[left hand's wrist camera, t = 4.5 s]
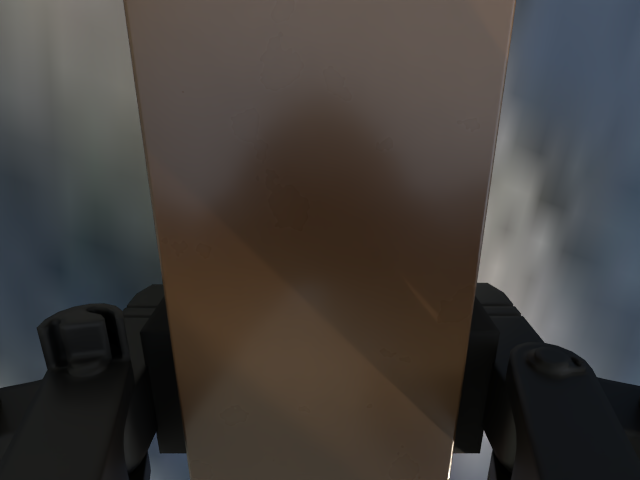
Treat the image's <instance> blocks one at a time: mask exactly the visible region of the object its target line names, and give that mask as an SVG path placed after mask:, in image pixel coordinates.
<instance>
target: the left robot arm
mask: <svg viewBox="0 0 640 480" xmlns="http://www.w3.org/2000/svg"><path fill="white" fill-rule="evenodd" d="M37 331H38V335H39V339H40V343H41V346H42V350H43V354H44V358H45V362H46V365H47V369H48V370H47V372H46V374H45V376H44V378H43V379H42V380H38V381H34V382H29V383H24V384H19V385H14V386H9V387H4V388H0V480H150V473H151V469H150V461H149V456H148V448H149V446H150V444H151V442H152V439H153V437H154V435H155V433H157V439H158V445H159V451H160V453H187V452H186V445H185V438H184V431H183V424H182V416H181V409H180V402H179V395H178V388H177V381H176V374H175V366H174V359H173V352H172V345H171V338H170V331H169V324H168V316H167V309H166V302H165V295H164V288H163V284H152V285H151V286H149V287H147V288H146V289H144V290H142V291H141V292H139V293H137V294H136V295H135V296H134V298H133V299H132V300H131V301H130V303H129V304H128V305H127V308H125V309H124V310H123V311H122V310H120V309H119V308H118V307H116V306H114V305H109V304H86V305H81V306H75V307H72V308H69V309H66V310H63V311H60V312H58V313H56V314H54V315H52V316H50V317H49V318H47V319H45V320H44V321H43V322H42V323H41V324H40V325H39V326H38V327H37ZM483 431H485V433H486V436H487V438H488V440H489V442H490V444H491V447H492V449H493V450H492V456H491V461H490V467H489V472H488V478H487V480H640V386H637V385H632V384H627V383H621V382H616V381H611V380H606V379H602V378H598V377H596V375H595V373H594V371H593V369H592V368H591V367H590V366H589V364H588V363H587V362H586V361H585V360H584V359H582V358H581V357H579V356H578V355H576V354H575V353H573V352H572V351H569V350H567V349H564V348H562V347H559V346H556V345H552V344H547V343H544V341H543V340H542V339H541V338H540V337H539V335H538V334H537V333H536V332H535V330H534V329H533V328H532V327H531V326H530V324H529V323H528V322H527V321H526V319H525V318H524V317H523V316H521V313H520V312H519V311H518V310H517V308H516V307H515V306H513V303H512V302H511V301H510V300H509V299H508V297H507V296H506V295H505V294H504V293H503V292H502V291H500V290H498V289H497V288H495V287H493V286H492V285H490V284H488V283H477V285H476V292H475V299H474V306H473V313H472V321H471V328H470V335H469V342H468V349H467V356H466V364H465V371H464V378H463V385H462V392H461V399H460V407H459V414H458V421H457V428H456V435H455V442H454V450H453V453H480V449H481V443H482V437H483Z"/></svg>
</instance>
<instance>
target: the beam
mask: <svg viewBox="0 0 640 480" xmlns="http://www.w3.org/2000/svg"><path fill="white" fill-rule="evenodd" d="M123 2H124V9H125V16H126V23H127V31H128V38H129V45H130V52H131V59H132V66H133V73H134V81H135V88H136V95H137V102H138V109H139V116H140V123H141V131H142V138H143V145H144V152H145V159H146V166H147V174H148V181H149V188H150V195H151V202H152V209H153V216H154V224H155V231H156V238H157V245H158V252H159V259H160V266H161V274H162V281H163V288H164V295H165V302H166V309H167V316H168V324H169V331H170V338H171V345H172V352H173V359H174V366H175V374H176V381H177V388H178V395H179V402H180V409H181V416H182V424H183V431H184V438H185V445H186V452H187V459H188V466H189V474H190V480H449V478H450V471H451V464H452V457H453V450H454V442H455V435H456V428H457V421H458V414H459V407H460V399H461V392H462V385H463V378H464V371H465V364H466V356H467V349H468V342H469V335H470V328H471V321H472V313H473V306H474V299H475V292H476V285H477V278H478V270H479V263H480V256H481V249H482V242H483V235H484V227H485V220H486V213H487V206H488V199H489V191H490V184H491V177H492V170H493V163H494V156H495V148H496V141H497V134H498V127H499V120H500V113H501V105H502V98H503V91H504V84H505V77H506V70H507V62H508V55H509V48H510V41H511V34H512V27H513V19H514V12H515V5H516V0H123Z"/></svg>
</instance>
